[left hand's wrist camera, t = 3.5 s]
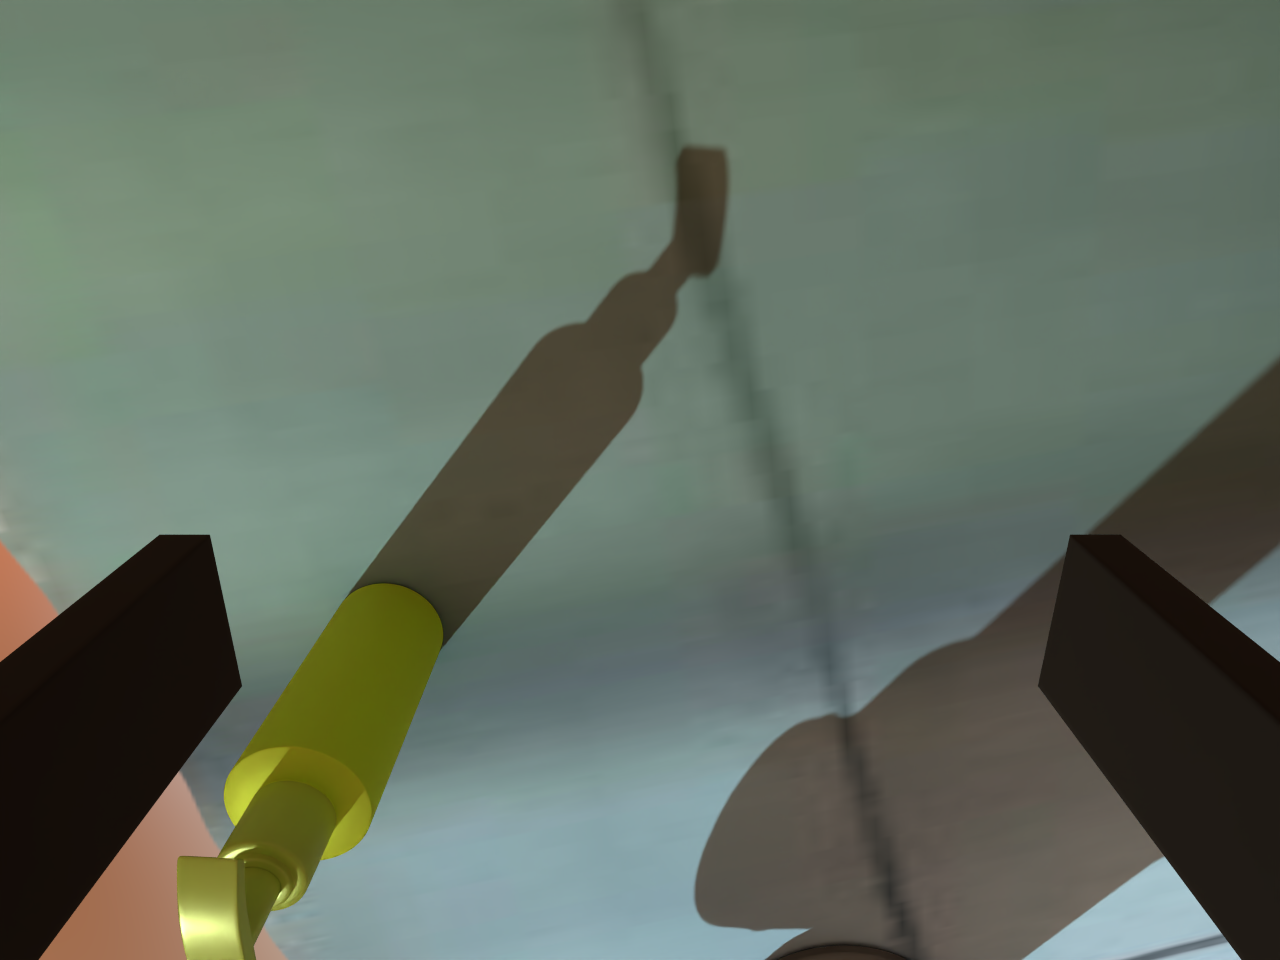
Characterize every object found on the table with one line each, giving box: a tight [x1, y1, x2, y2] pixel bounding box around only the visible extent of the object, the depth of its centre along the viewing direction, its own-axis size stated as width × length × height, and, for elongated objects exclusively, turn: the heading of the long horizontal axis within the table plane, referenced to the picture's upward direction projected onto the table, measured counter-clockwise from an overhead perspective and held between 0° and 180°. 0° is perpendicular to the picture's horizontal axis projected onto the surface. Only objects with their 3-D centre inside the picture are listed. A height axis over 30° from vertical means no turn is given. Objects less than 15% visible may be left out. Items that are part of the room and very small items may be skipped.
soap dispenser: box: [177, 583, 443, 960], centre depth 36 cm, size 6×7×20 cm
